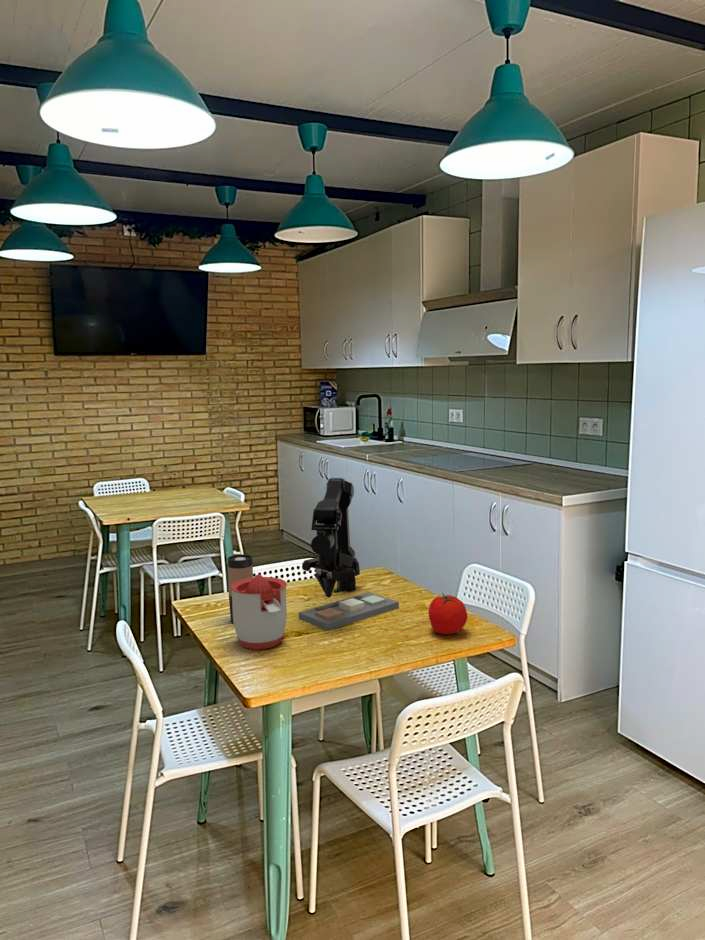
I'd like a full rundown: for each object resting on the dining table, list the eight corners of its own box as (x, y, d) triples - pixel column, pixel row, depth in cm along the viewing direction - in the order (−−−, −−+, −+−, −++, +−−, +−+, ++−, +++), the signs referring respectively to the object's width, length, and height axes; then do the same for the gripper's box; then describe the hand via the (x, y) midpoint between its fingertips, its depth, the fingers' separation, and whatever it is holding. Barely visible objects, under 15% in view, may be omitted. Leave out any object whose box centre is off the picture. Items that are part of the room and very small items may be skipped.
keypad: (298, 621, 216) (298, 611, 216) (369, 600, 235) (369, 591, 235) (327, 634, 206) (327, 623, 205) (398, 610, 224) (398, 600, 224)
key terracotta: (316, 619, 214) (316, 611, 214) (330, 615, 218) (330, 607, 217) (327, 624, 210) (327, 616, 209) (342, 619, 213) (342, 612, 213)
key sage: (360, 606, 226) (360, 598, 225) (373, 602, 229) (373, 595, 229) (372, 610, 221) (372, 603, 221) (385, 606, 225) (385, 599, 225)
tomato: (441, 622, 213) (441, 586, 212) (474, 630, 206) (475, 594, 205) (419, 634, 204) (418, 597, 203) (453, 643, 197) (453, 604, 196)
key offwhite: (339, 609, 220) (338, 602, 219) (352, 605, 223) (352, 598, 223) (350, 613, 215) (350, 606, 215) (364, 609, 219) (364, 602, 219)
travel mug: (259, 618, 220) (257, 555, 217) (246, 626, 213) (243, 561, 210) (239, 614, 223) (236, 553, 221) (224, 622, 216) (222, 559, 214)
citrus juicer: (250, 660, 188) (247, 587, 185) (224, 640, 202) (221, 572, 200) (301, 646, 196) (299, 577, 194) (273, 628, 211) (270, 563, 208)
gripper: (368, 547, 209) (369, 598, 211) (328, 537, 223) (330, 585, 225) (339, 554, 201) (340, 606, 203) (300, 542, 215) (301, 592, 218)
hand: (328, 597), depth 212 cm, fingers closed
